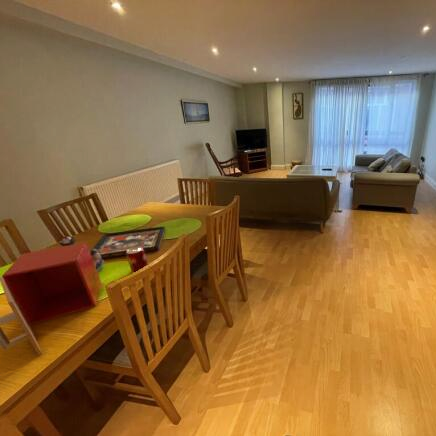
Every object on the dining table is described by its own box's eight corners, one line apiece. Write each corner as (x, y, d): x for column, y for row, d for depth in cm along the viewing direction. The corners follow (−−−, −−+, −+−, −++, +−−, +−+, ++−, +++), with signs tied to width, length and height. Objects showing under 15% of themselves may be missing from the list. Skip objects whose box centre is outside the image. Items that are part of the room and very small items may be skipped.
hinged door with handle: (14, 368, 72) (-22, 314, 63) (5, 336, 82) (-27, 286, 74) (42, 353, 76) (12, 301, 68) (29, 325, 87) (2, 276, 79)
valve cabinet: (95, 306, 96) (77, 260, 88) (29, 324, 87) (1, 275, 79) (102, 283, 109) (86, 242, 101) (44, 298, 100) (22, 253, 92)
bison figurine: (96, 277, 114) (89, 259, 110) (79, 279, 112) (71, 261, 108) (108, 263, 124) (102, 246, 120) (92, 265, 123) (85, 248, 119)
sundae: (64, 258, 129) (53, 233, 123) (79, 253, 134) (70, 229, 128) (68, 262, 125) (57, 237, 120) (83, 257, 131) (74, 232, 125)
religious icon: (165, 226, 167) (164, 223, 166) (165, 249, 138) (164, 245, 137) (98, 238, 151) (97, 234, 150) (83, 266, 122) (81, 261, 121)
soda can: (134, 277, 113) (128, 255, 109) (130, 271, 118) (123, 250, 113) (151, 270, 118) (145, 249, 114) (146, 265, 123) (140, 244, 118)
